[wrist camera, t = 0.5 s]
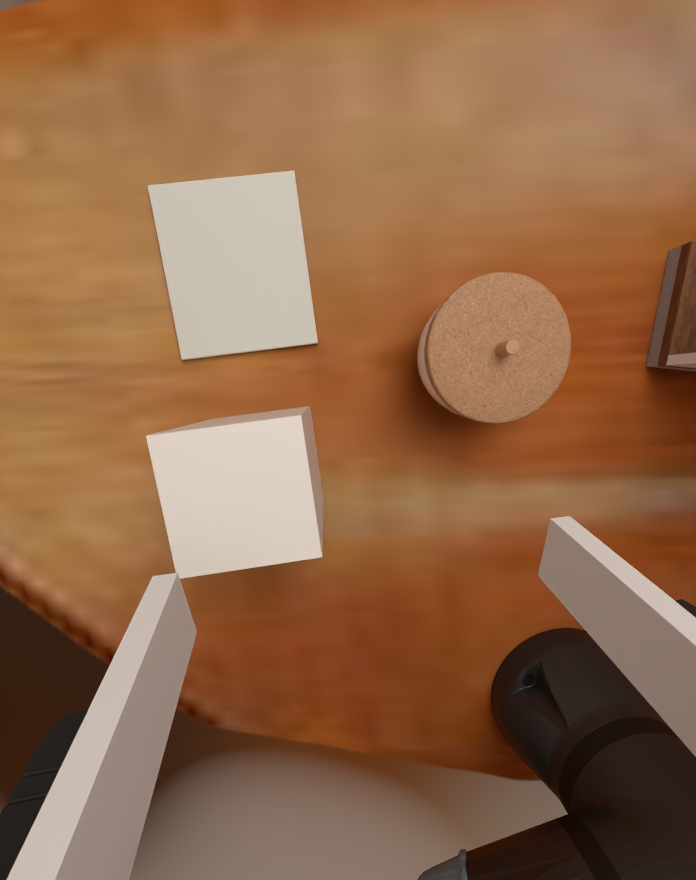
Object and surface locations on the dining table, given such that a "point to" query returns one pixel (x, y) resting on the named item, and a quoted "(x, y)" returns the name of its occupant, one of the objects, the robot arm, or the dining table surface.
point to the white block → (240, 491)
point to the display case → (676, 314)
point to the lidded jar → (495, 348)
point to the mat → (235, 264)
